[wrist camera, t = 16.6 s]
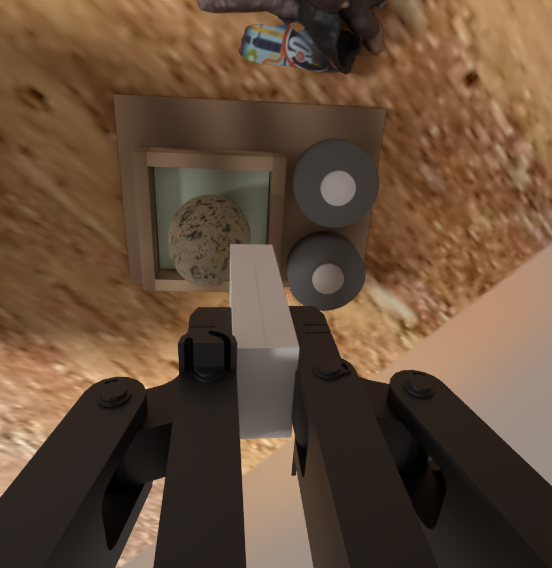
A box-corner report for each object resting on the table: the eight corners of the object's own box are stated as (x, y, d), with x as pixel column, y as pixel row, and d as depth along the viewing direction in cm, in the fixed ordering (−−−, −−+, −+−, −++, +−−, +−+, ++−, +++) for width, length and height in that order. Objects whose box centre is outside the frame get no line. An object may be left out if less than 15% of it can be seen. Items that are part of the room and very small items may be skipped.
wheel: (289, 217, 36) (292, 229, 33) (294, 136, 33) (299, 142, 31) (365, 219, 36) (374, 231, 34) (376, 140, 34) (387, 146, 31)
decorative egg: (233, 265, 39) (230, 326, 30) (165, 239, 38) (141, 294, 29) (261, 202, 37) (268, 248, 28) (190, 172, 35) (173, 209, 26)
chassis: (133, 278, 40) (116, 311, 35) (117, 93, 34) (93, 99, 29) (357, 282, 42) (373, 314, 37) (382, 107, 36) (407, 115, 30)
